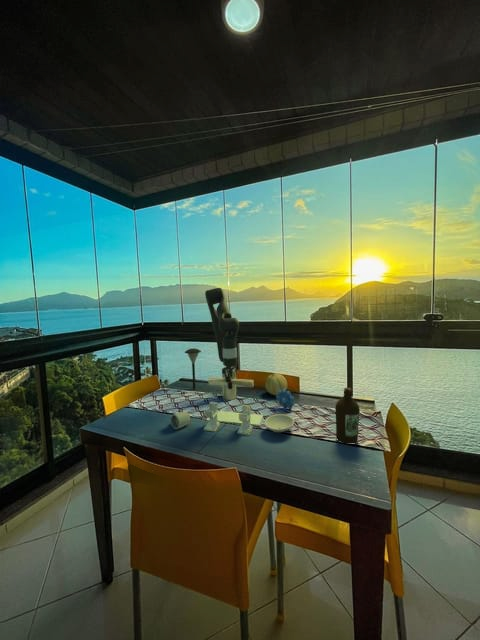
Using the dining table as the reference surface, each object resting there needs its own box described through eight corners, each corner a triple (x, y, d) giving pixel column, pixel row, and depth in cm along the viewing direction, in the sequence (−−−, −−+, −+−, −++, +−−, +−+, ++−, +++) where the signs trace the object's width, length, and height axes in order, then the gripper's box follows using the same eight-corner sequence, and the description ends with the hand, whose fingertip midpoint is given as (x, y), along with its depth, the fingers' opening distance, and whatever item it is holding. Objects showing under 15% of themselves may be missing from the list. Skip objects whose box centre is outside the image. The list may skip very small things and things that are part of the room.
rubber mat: (213, 411, 168) (213, 410, 168) (263, 416, 160) (263, 415, 160) (206, 420, 156) (206, 419, 156) (259, 425, 149) (259, 424, 149)
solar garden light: (183, 392, 202) (181, 351, 199) (189, 386, 214) (187, 347, 211) (199, 392, 200) (198, 351, 197) (204, 387, 212) (203, 347, 209)
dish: (285, 442, 132) (285, 432, 131) (258, 434, 140) (258, 425, 139) (299, 427, 147) (299, 417, 146) (274, 420, 154) (273, 412, 154)
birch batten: (210, 382, 154) (210, 377, 153) (253, 385, 148) (253, 379, 147) (208, 384, 151) (208, 379, 150) (252, 387, 145) (252, 381, 145)
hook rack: (209, 422, 153) (208, 401, 152) (252, 427, 147) (252, 405, 146) (203, 430, 145) (202, 408, 144) (249, 435, 139) (248, 412, 138)
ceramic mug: (191, 425, 151) (191, 411, 150) (179, 431, 145) (178, 416, 144) (179, 420, 158) (178, 406, 157) (167, 425, 152) (166, 411, 151)
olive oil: (330, 435, 137) (331, 386, 135) (349, 433, 139) (350, 384, 137) (343, 447, 127) (344, 393, 124) (363, 444, 129) (365, 391, 127)
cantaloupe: (291, 394, 194) (291, 372, 192) (279, 400, 183) (278, 377, 181) (273, 389, 204) (273, 369, 202) (261, 395, 193) (260, 373, 191)
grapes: (273, 409, 169) (273, 390, 168) (277, 405, 175) (277, 386, 174) (292, 413, 163) (292, 393, 162) (295, 408, 169) (295, 389, 168)
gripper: (226, 352, 155) (228, 382, 157) (218, 359, 142) (220, 392, 144) (240, 352, 153) (241, 383, 155) (233, 359, 140) (234, 393, 142)
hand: (231, 387), depth 150 cm, fingers closed on birch batten, 3 cm apart
